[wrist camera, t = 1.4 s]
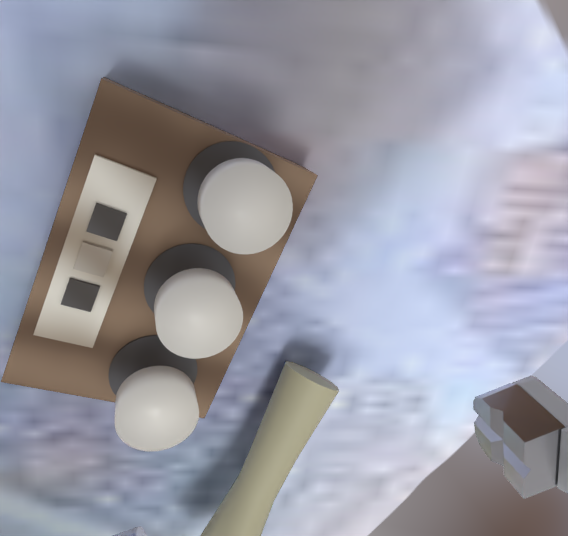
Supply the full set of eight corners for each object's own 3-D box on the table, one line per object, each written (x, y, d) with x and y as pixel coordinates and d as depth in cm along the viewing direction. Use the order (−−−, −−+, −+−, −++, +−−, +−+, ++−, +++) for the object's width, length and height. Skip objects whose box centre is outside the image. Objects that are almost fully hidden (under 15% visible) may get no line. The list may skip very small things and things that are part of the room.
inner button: (179, 435, 33) (182, 456, 31) (104, 423, 31) (103, 445, 29) (206, 374, 31) (211, 393, 30) (130, 358, 29) (131, 376, 28)
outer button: (261, 253, 29) (270, 265, 27) (184, 226, 27) (187, 237, 25) (296, 177, 28) (307, 185, 26) (217, 143, 26) (224, 149, 24)
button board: (199, 394, 39) (205, 422, 36) (11, 356, 33) (-2, 386, 30) (303, 166, 34) (320, 177, 31) (103, 77, 29) (100, 78, 25)
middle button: (218, 349, 31) (223, 366, 29) (142, 330, 29) (142, 347, 27) (248, 281, 30) (256, 295, 28) (171, 257, 28) (174, 270, 26)
